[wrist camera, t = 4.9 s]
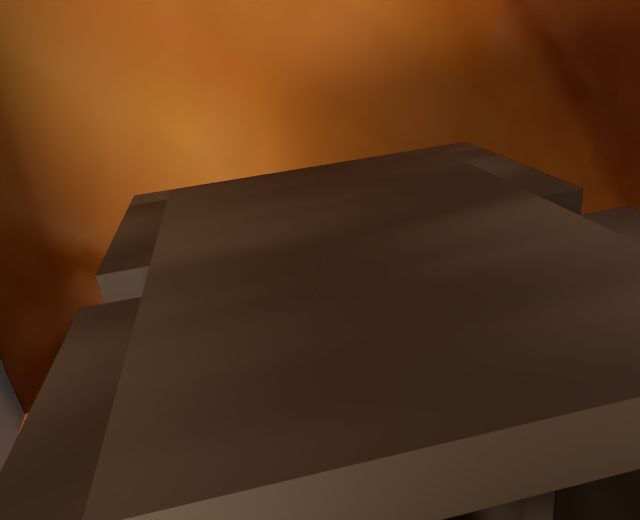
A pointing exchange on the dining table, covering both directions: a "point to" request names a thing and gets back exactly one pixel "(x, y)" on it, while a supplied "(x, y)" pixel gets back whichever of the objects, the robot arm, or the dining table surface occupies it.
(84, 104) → the dining table surface
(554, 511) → the robot arm
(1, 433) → the grey crate
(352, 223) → the walnut crate
